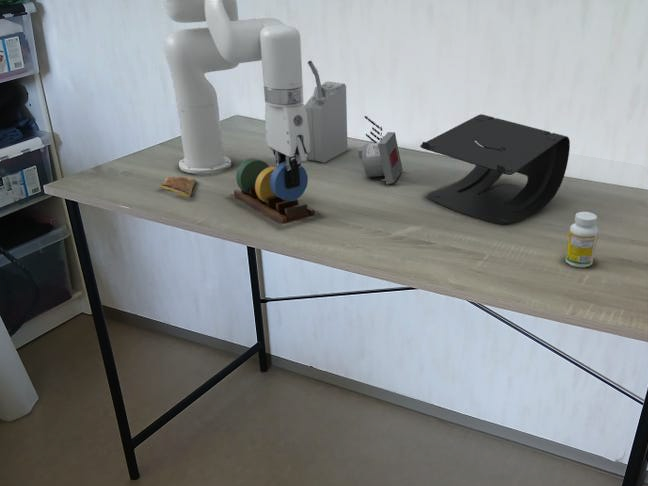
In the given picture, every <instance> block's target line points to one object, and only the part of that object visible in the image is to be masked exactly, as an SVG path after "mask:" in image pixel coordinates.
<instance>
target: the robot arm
mask: <svg viewBox="0 0 648 486" xmlns="http://www.w3.org/2000/svg"><path fill="white" fill-rule="evenodd" d="M237 1H238V0H163V3H164V7H165V11H166V14H167V15H168V17H169V19H171V20H172V21H174V22H176V23H180V24H190V23H202V22H206V25H207V26H206V27H195V28H194V27H193V28H192V27H191V28H184V29H183V28H182V29H178V30H175V31H172V32H171V33H169V34H168V35H167V36H166V37H165V39H164V41H163V51H164V55H165V59H166V63H167V65H168V69H169V73H170V76H171V80H172V85H173V90H174V98H175V103H176V110H177V115H178V123H179V130H180V137H181V143H182V144H181V145H182V150H183V157H184V158H182V159H181V160H179V162H178V167H179V170H181V171H182V172H183V173H186V174H187V173H188V174H193V175H201V174H203V173H208V172H209V173H211V172H217V171H220V170H225V169H228V168H230V167H232V159H231V158H229V157H228V156H226V155H225V152H224V145H223V143H224V142H223V135H222V127H221V126H222V125H221V120H220V119H221V118H220V110H219V102H218V94H217V91H216V88H215V87H214V86H213V84H212V83H211V82H210V80H209V79H207V77H206V76H205V74H208V73H211V72H212V73H213V72H220V71H227V70H233V69H235V68H237V67H238V66H240V64H245V63H251V62H252V63H253V62H260V61H261V66H262V67H261V69H262V82H263V96H264V104H265V105H264V129H265V140H266V144H267V146H268V147H269V149H270V150H271V151H272V153H273V156H274V159H275V165H279V164H280V163H282V162H285V161H286V168H287V169H286V170H285V184H286V188H287V189H290V188H294V187H298V186H300V173H299V168H300V167H301V166H302V164H305V163H307V162H308V159H307V154H309V153H310V135H309V126H308V119H307V113H306V109H305V104H304V85H303V82H304V81H303V63H302V41H301V33H300V31H299V30H298V29H297V28H296V27H294V26H292V25H286V24H285V23H284V22H283V21H282V20H281V19H278V18H275V17H262V18H249V19H239V10H238V8H239V7H238V2H237Z"/></svg>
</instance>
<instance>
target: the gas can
mask: <svg viewBox="0 0 648 486" xmlns="http://www.w3.org/2000/svg"><path fill="white" fill-rule="evenodd" d="M307 64H308V66H309V69H311V72H312V75H314V78H315V83H316V86H315V87H314V90H313V93H312V96H311V97H310V98H309V99H308V100H307V102H306V103H305V104H304V105H305V109H306V113H307V119H308V126H309V135H310V153H309V154H306V160H307V161H313V162H316V163H317V162H318V163H323V164H324V163H327V162H328V161H329V160H332V159H334V158H335V157H337V156H339V155H342V154H343V153H345V152H346V151H348V113H347V112H348V111H347V106H348V105H347V104H348V103H347V85H346V84H345V83H343V82H336V81H330V80H329V81H325V82H324V83H322V84H321V78H320V75H319V71H318V69H317V67H316V66H315V64H314V62H313V60H309V61H307Z"/></svg>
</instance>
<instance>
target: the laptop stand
mask: <svg viewBox="0 0 648 486" xmlns="http://www.w3.org/2000/svg"><path fill="white" fill-rule="evenodd" d="M570 145H571V140H570V138H569V136H568V135H565V134H564V135H563V134H559V133H556V132H551V131H548V130H545V129H540V128H536V127H532V126H529V125H525V124H521V123H518V122H514V121H509V120H505V119H502V118H498V117H493V116H490V115H486V114H482V113H481V114H477V115H475V116H474V117H472V118H470V119H468V120H466V121H463V122H462V123H460V124H458V125H456V126H454V127H452V128H450V129H449V130H447V131H444V132H442V133H441V134H438V135H437V136H435V137H433V138H431V139H429V140H426V141H422V143H421V144H420V145H419V146H420V147H419V148H421V149H423V150H426V151H430V152H433V153H436V154H439V155H442V156H446V157H449V158H451V159H455V160H458V161H461V162H465V163H467V164H471V165H475V166H474V167H473V169H472V170H471V171H470V172H468V174H466V175H465V176H464V177H463V178H461V179H459V180H458V181H456V182H454V183H453V184H450V185H447V186H445V187H442V188H439V189H437V190H435V191H432V192H429V193H428V194H427V196H426V198H427V199H428V200H430V201H431V202H433V203H435V204H438V205H440V206H442V207H444V208H447V209H449V210H452V211H454V212H457V213H460V214H463V215H465V216H469V217H472V218H475V219H478V220H481V221H484V222H488V223H492V224H496V225H511V224H512V225H513V224H515V223H518V222H520V221H522V220H525V219H527V218H529V217H531V216H534V215H536V214H537V213H539V212H541V210H543V209H544V208H545V207H546V206H548V205H549V203H551V202H552V200H553V199H554V198H555V196H556V195H557V193H558V192H559V190H560V187H561V186H562V183H563V180H564V178H565V174H566V171H567V167H568V162H569V157H570V149H571V146H570ZM516 173H517V174H520V175H524V176H526V178H527V182H526V184H525V185H524V187H523V188H521V187H517V186H515V185H511V184H503V185H500V186H497V187H495V188H492V189H489V188H490V187H492V186H493V185H494V184H495V183H496V182H497V181H498V180H500V178H501V177H502V176H503V175H507V176H511V175H512V176H513V175H514V174H516ZM488 189H489V190H488Z"/></svg>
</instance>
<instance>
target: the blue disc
mask: <svg viewBox="0 0 648 486" xmlns="http://www.w3.org/2000/svg"><path fill="white" fill-rule="evenodd" d="M276 165H277V164H276ZM275 167H276V168H275V169H274V170H273V172H272V174H271V178H270V186H271V189H272V191H273V193H274V194H275V195H276V196H277V197H279V198H281V199H282V200H285V201H293V200H296V199H298V200H299V198H300V197H301V196H302V195H304V193H305V191H306V190H307V187H308V181H309V179H308V177H309V176H308V173H307V171H306V169H305V168H304V166H302V165H301V167H300V168H299V173H300V186H298V187H294V188H290V189H287V188H286V184H285V170H286V169H287V168H286V161H285V162H282V163H280V164H279V165H277V166H275Z"/></svg>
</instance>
